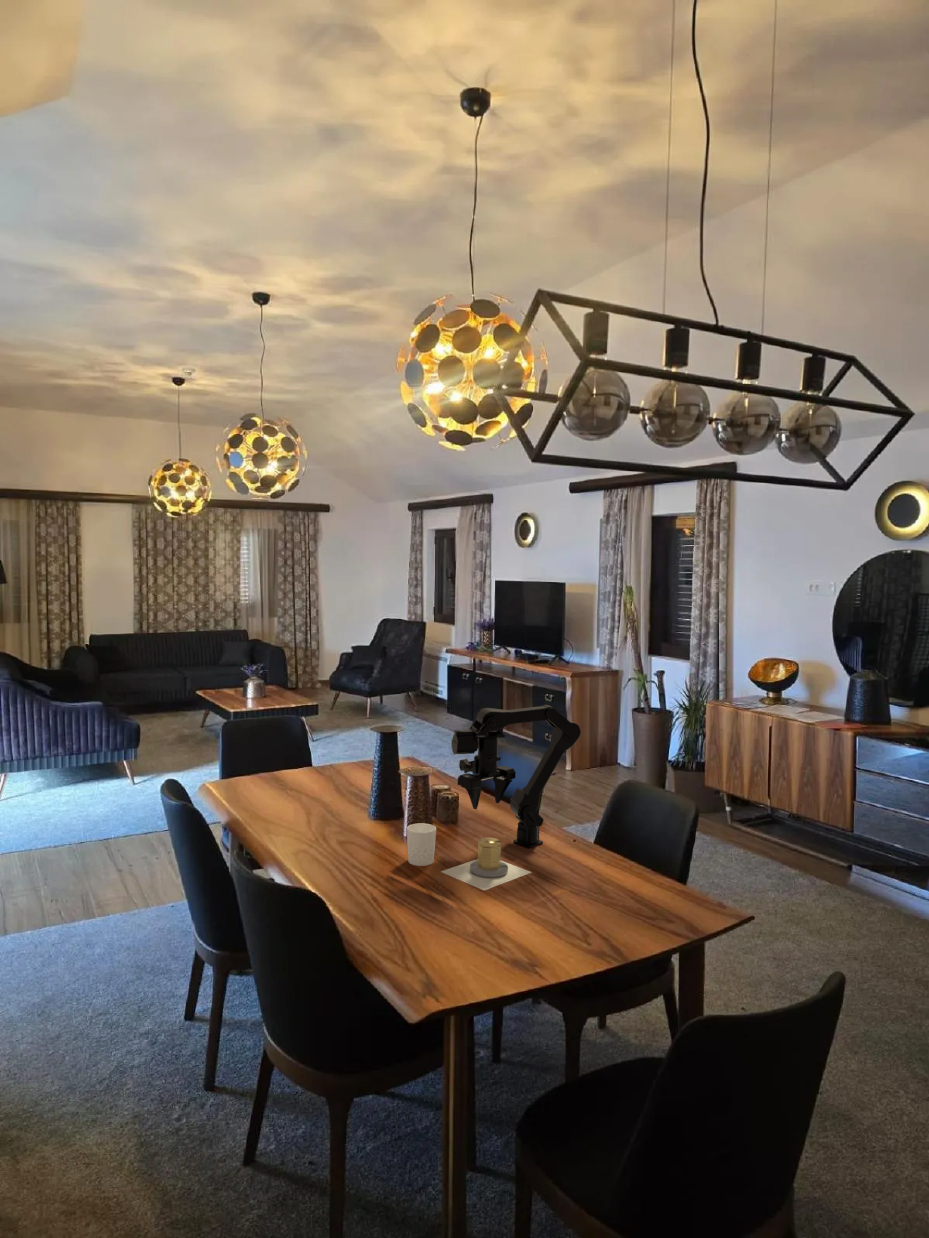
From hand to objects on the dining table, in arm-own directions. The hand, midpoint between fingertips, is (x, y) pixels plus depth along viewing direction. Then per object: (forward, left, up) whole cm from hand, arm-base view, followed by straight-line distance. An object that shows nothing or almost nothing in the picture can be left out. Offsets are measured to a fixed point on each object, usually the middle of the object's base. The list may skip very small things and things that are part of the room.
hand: (486, 805), depth 226 cm
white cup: (+23, -2, -12) cm, 26 cm away
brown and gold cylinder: (+14, +15, -10) cm, 23 cm away
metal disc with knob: (+14, +15, -11) cm, 23 cm away
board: (+15, +15, -12) cm, 24 cm away
